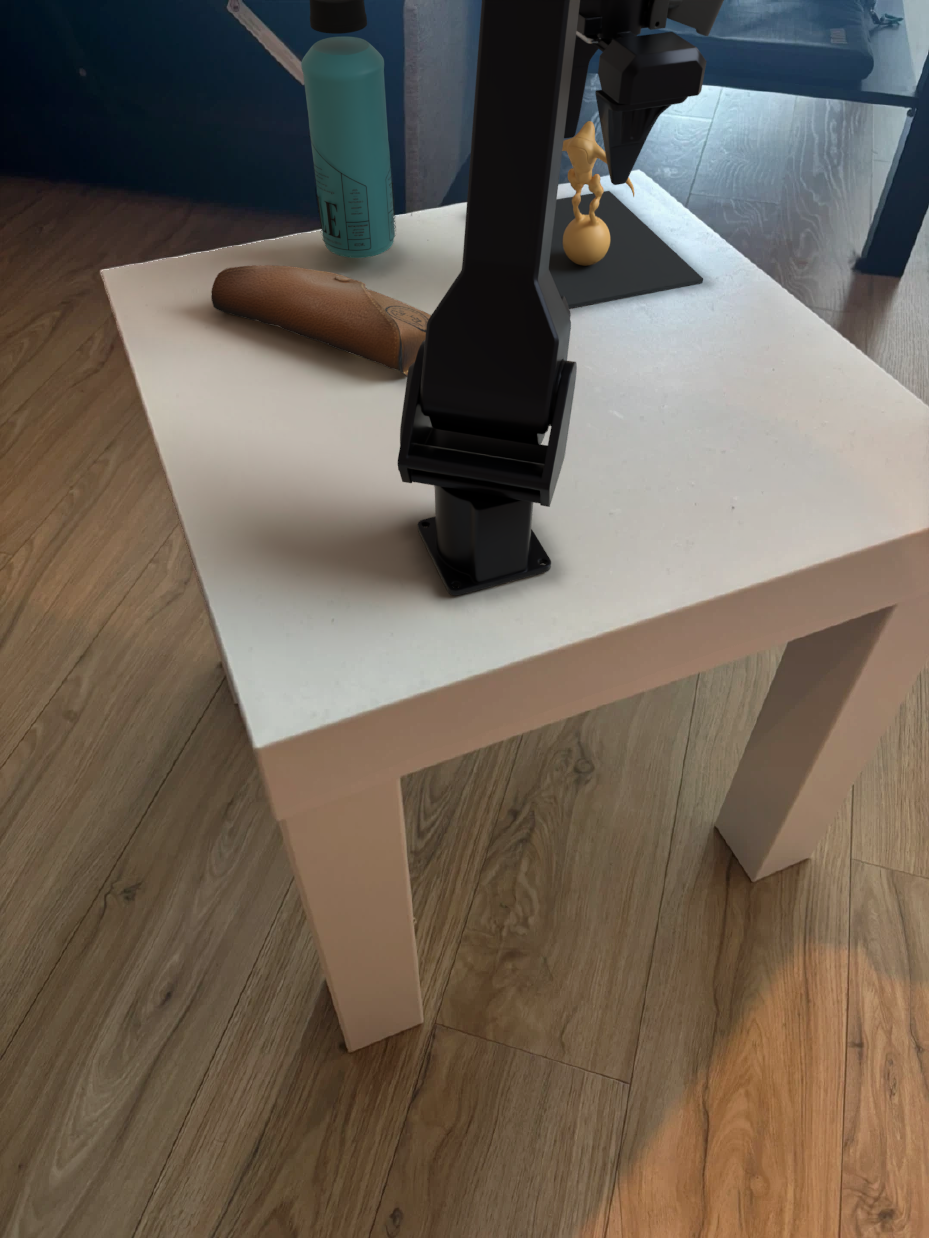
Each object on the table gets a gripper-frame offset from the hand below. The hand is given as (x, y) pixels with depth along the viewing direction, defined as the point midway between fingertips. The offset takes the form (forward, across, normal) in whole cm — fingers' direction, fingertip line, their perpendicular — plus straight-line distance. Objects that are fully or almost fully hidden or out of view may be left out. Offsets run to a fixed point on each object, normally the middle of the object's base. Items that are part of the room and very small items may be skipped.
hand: (592, 159), depth 73 cm
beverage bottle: (+10, +9, +17) cm, 22 cm away
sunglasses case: (+10, -1, +22) cm, 24 cm away
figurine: (+9, 0, 0) cm, 9 cm away
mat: (+9, +4, -2) cm, 10 cm away
